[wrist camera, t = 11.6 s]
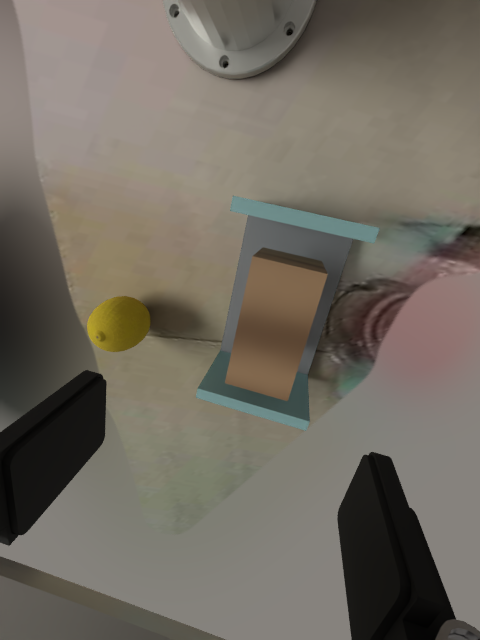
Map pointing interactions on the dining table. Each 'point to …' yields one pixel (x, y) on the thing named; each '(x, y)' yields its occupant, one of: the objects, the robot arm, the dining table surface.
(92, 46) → the dining table surface
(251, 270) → the brown wooden block
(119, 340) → the lemon
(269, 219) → the peg frame
